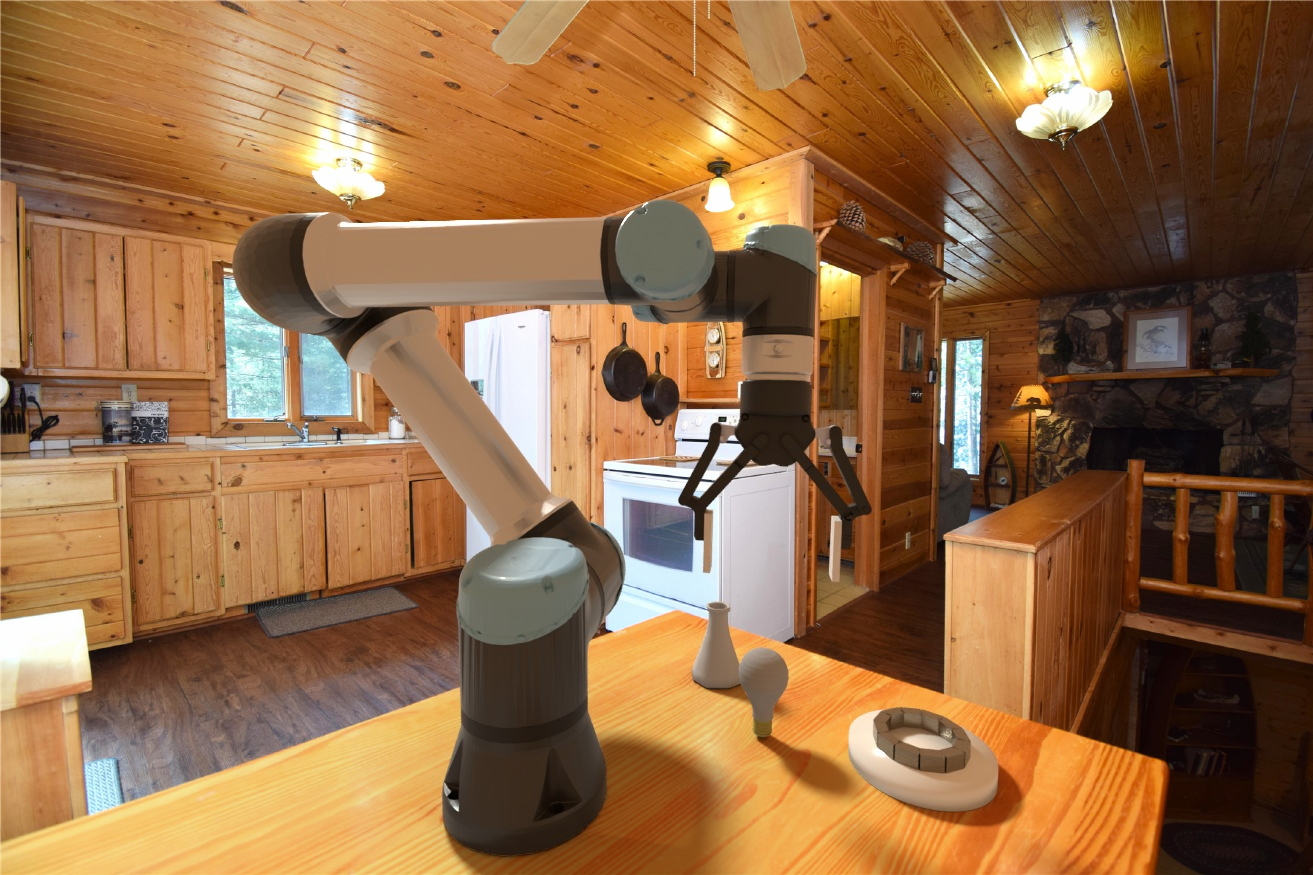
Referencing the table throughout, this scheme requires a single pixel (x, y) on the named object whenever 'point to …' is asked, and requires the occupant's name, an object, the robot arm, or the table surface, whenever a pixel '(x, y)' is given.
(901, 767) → the socket base
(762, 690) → the light bulb
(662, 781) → the table surface
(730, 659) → the flask
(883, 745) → the socket collar
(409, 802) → the table surface
